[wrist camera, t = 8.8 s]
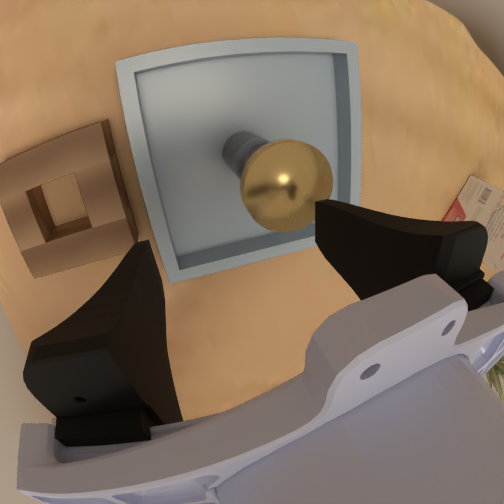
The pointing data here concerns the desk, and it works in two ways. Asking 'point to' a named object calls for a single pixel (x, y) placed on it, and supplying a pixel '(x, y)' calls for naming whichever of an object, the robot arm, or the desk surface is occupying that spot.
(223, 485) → the robot arm
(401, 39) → the desk surface
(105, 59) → the desk surface
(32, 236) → the brown square socket base
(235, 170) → the lock pin
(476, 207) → the ink cartridge box
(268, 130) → the tray
